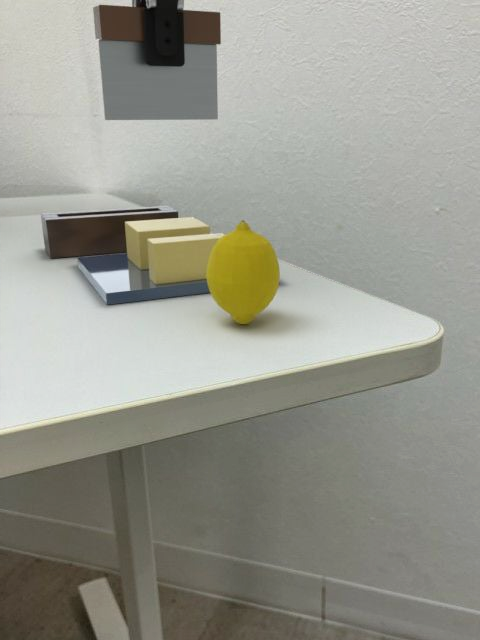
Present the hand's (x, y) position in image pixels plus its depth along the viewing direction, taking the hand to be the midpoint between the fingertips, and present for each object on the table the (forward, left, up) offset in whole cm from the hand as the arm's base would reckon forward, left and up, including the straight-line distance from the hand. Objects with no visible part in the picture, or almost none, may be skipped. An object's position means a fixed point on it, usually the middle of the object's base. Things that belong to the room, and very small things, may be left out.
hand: (159, 63), depth 55 cm
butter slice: (+1, -4, -17) cm, 18 cm away
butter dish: (+1, +1, -18) cm, 18 cm away
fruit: (+1, -14, -19) cm, 24 cm away
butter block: (+1, +3, -17) cm, 18 cm away
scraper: (0, 0, -4) cm, 4 cm away
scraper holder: (-2, +14, -18) cm, 23 cm away
